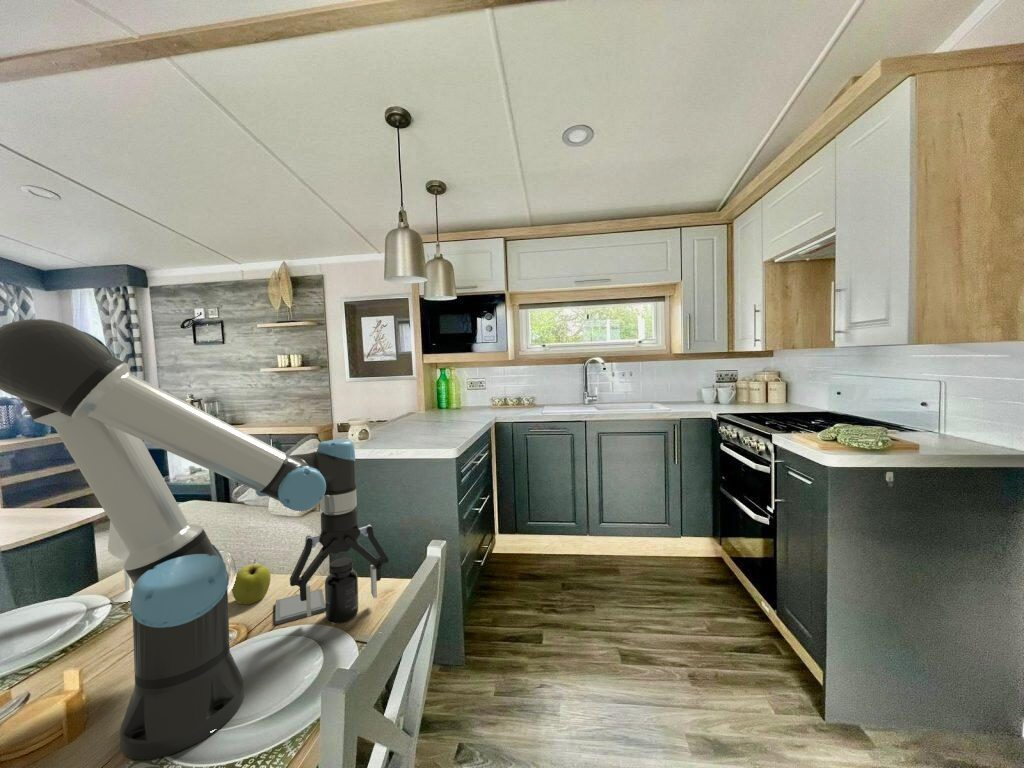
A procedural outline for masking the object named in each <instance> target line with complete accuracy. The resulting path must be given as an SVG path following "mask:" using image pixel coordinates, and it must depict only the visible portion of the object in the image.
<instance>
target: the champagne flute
mask: <svg viewBox="0 0 1024 768" xmlns="http://www.w3.org/2000/svg"><path fill="white" fill-rule="evenodd" d="M107 542H108V543H107V552H108V553H109V554H111V556H113V557H116V558H117V559H120V560H123V565H124V564H125V562H126V560H127V558H128V556H129V551H128V549H127V547H126V546H125V544H124V542H123V541H122V539H121V537H120V536H119V534H118V533H117V531H116V529H115V528H114V526H113V524H112V523H111V521H110V520H109V531H108V541H107ZM123 571H124V574H123V575H124V591H122V592H121V593H120V594H118V595H116V596H115V597H113V598H112V599H113V601H114V602H128V601H131V597H132V591H133V588H132V580H131V579H130V577H129V575H128V574H127V572H126V570H125V569H124V568H123ZM128 603H129V602H128Z"/></svg>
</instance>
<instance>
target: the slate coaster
mask: <svg viewBox="0 0 1024 768" xmlns="http://www.w3.org/2000/svg"><path fill="white" fill-rule="evenodd" d="M310 597H311V616H312V615H313V616H314V615H316V614H317V615H318V614H320V613H324V612H326V611H325V595H324V592H323V589H322V588H320V589H315V590H310ZM305 617H307V609H306V600H305V601H301V600H300V593H299V594H295V595H292V596H287V597H283V598H279V599H276V600H275V620H274V621H275V626H278V625H280V624H284V623H287V622H292V621H295V620H299V619H301V618H305Z"/></svg>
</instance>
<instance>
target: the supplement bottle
mask: <svg viewBox="0 0 1024 768" xmlns="http://www.w3.org/2000/svg"><path fill="white" fill-rule="evenodd" d="M328 573H329V574H328V575H327V576H326V578H325V579H324V601H325V611H324V612H325V619H326V621H327V622H329V623H330V624H331V623H332V624H342V623H345V622H348V621H350V620H352V619H354V618H355V617H356V616H357V614H358V612H359V579H358V578H359V577H358V573H357V571H355V570H354V564H353V559H352V558H349V557H340V558H336V559H334V560H333V561H331V562H330V563H329V570H328Z"/></svg>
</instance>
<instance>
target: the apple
mask: <svg viewBox="0 0 1024 768" xmlns="http://www.w3.org/2000/svg"><path fill="white" fill-rule="evenodd" d="M236 573H237V577H236V581H235V584H234V587H233V589H231V592H232V596H233V598H234V600H235V601H236V602H237V603H238V604H242V605H246V606H247V605H252V604H253V603H257V602H258V601H260V600H262V599H263V598H264V597H265V596H266V595H267V593H268V590H269V587H270V585H271V571H270V570H269V569H268V567H266V566H265V565H262V564H259V563H258V564H257V563H256V558H255V559H254V562H253V563H251V564H247V565H245V566H243V567H241V568H240V569H239V570H238V571H237V572H236Z"/></svg>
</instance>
